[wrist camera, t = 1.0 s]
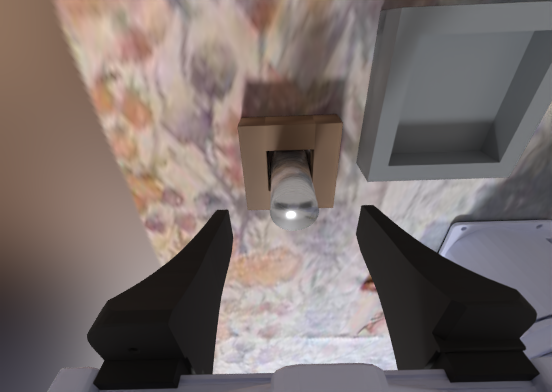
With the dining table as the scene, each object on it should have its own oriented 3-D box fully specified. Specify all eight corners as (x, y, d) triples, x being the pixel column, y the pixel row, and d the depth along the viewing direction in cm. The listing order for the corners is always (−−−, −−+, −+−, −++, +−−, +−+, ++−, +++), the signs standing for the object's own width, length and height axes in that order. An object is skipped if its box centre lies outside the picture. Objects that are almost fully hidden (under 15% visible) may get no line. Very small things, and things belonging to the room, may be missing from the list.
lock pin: (306, 142, 19) (320, 191, 14) (305, 173, 21) (317, 230, 15) (270, 143, 19) (269, 193, 14) (272, 174, 21) (271, 231, 15)
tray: (552, 3, 15) (609, -2, 12) (480, 158, 20) (509, 177, 18) (380, 10, 15) (402, 7, 12) (356, 162, 20) (367, 181, 18)
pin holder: (336, 114, 18) (342, 123, 17) (328, 194, 22) (333, 207, 20) (240, 117, 18) (237, 126, 17) (249, 196, 22) (247, 210, 21)
